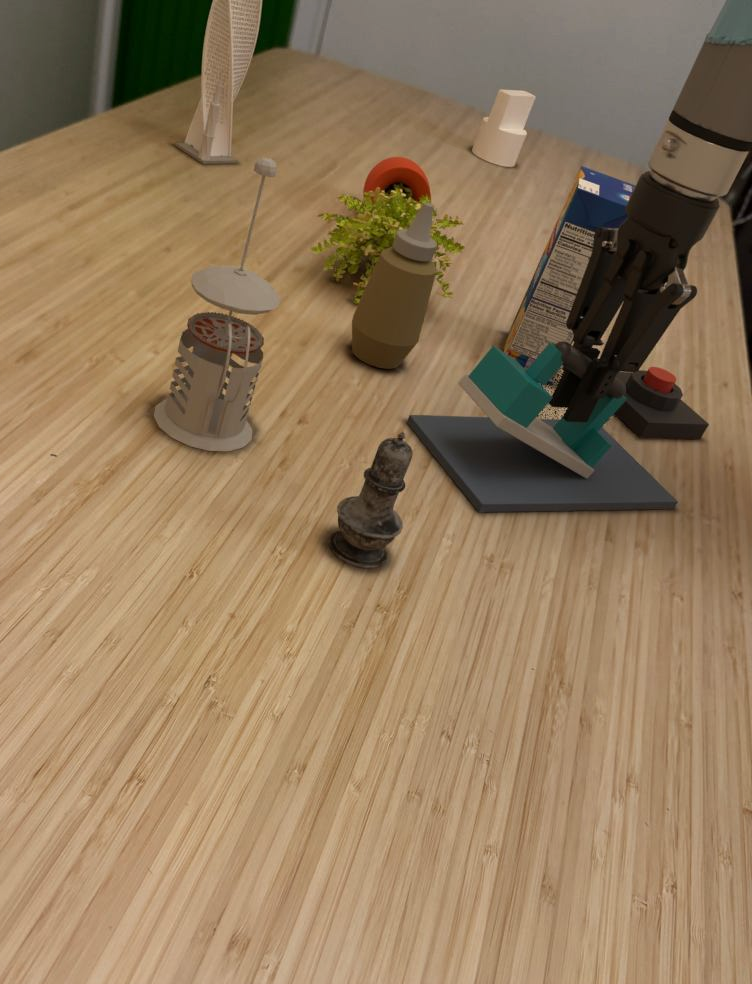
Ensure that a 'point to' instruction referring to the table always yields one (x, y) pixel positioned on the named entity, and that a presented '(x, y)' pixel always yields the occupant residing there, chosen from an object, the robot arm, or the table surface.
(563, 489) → the ironing mat
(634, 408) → the button base
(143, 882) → the table surface
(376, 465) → the salt shaker
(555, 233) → the beverage box
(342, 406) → the table surface
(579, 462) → the iron
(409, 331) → the squeeze bottle
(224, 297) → the french press
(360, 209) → the potted plant
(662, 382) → the power button
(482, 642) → the table surface
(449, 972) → the table surface
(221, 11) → the skyscraper
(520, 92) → the cylinder with rectangular tab
